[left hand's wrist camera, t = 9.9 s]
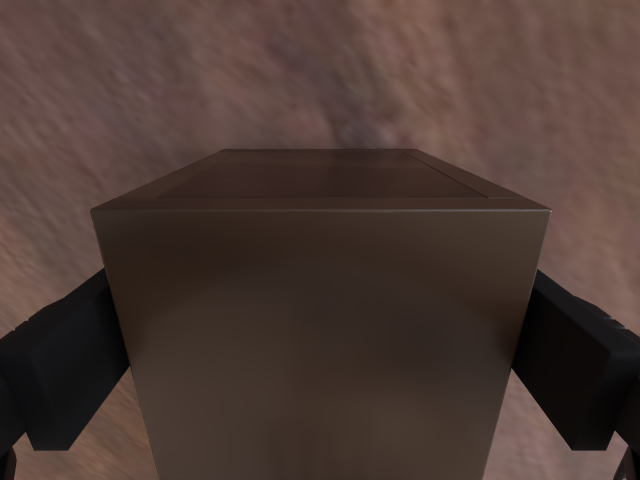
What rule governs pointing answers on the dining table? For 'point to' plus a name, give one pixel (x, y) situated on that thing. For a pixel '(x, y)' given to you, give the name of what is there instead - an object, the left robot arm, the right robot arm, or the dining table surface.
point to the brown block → (321, 312)
